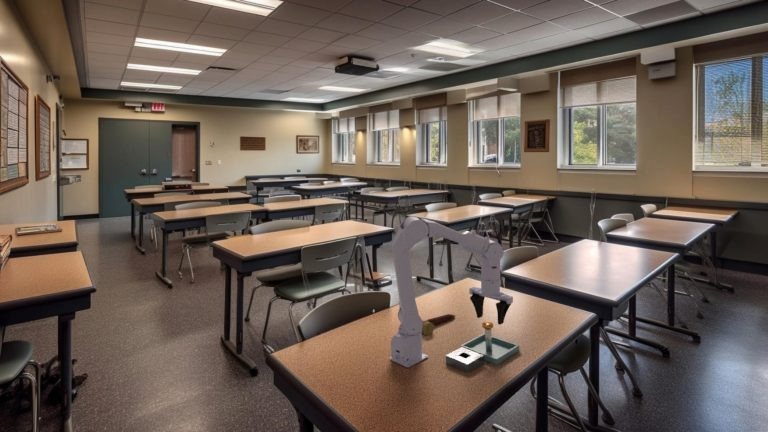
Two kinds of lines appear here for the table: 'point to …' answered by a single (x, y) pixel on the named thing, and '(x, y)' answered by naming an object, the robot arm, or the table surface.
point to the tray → (499, 349)
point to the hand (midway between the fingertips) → (490, 320)
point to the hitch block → (464, 359)
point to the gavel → (429, 324)
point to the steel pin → (488, 335)
